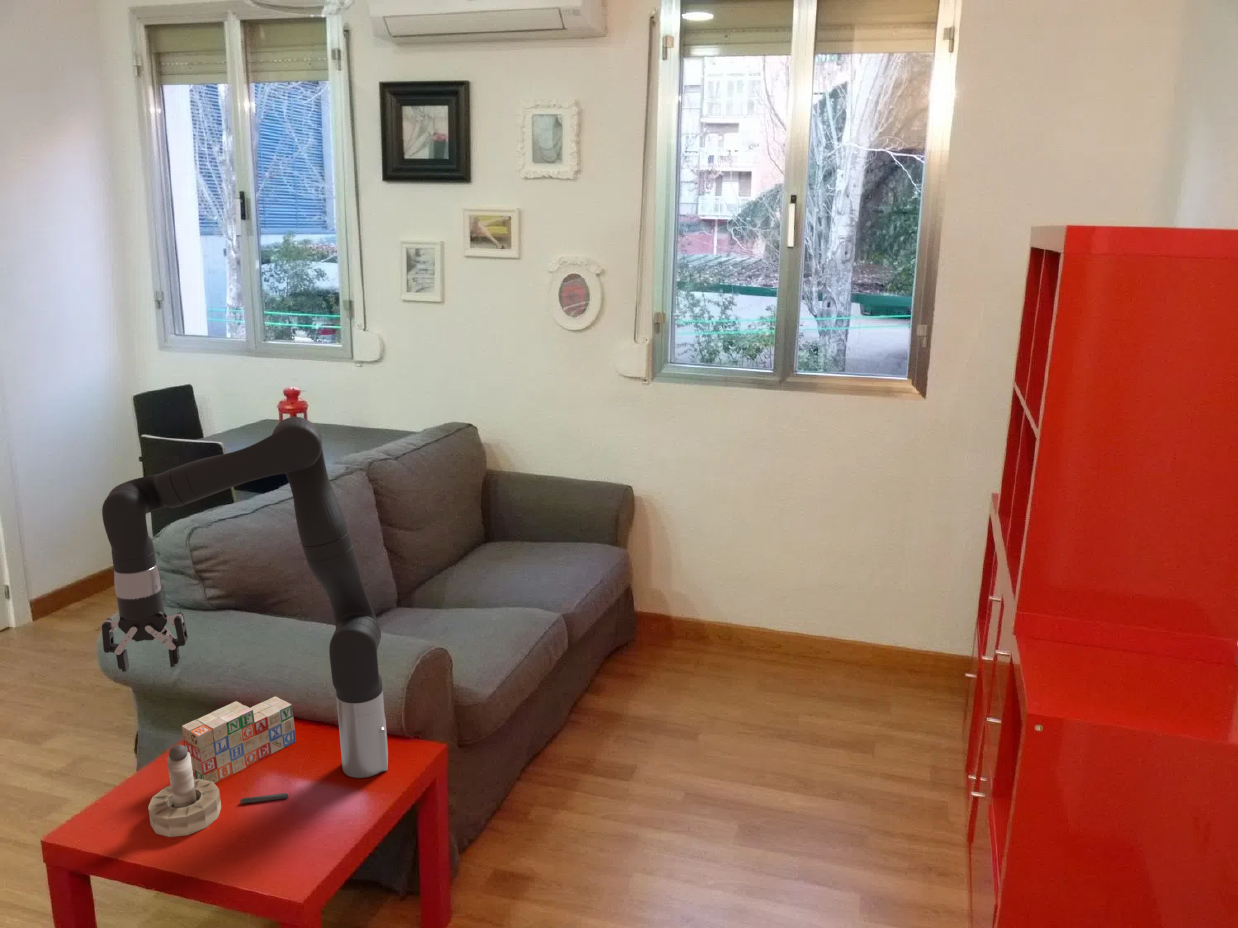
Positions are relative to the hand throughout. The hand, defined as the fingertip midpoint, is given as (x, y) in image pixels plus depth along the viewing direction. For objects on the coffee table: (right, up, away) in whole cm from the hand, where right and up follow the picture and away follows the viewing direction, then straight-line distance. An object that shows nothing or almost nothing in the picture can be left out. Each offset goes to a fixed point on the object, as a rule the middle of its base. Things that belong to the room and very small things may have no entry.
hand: (149, 667), depth 179 cm
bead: (+6, -29, +1) cm, 30 cm away
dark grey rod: (+20, -28, +6) cm, 34 cm away
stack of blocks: (+10, -24, +20) cm, 33 cm away
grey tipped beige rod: (+7, -29, +1) cm, 30 cm away
